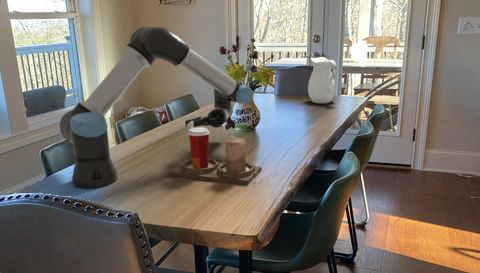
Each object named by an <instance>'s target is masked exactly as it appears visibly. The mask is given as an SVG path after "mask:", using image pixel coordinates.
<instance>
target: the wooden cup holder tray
mask: <svg viewBox="0 0 480 273" xmlns="http://www.w3.org/2000/svg"><path fill="white" fill-rule="evenodd" d="M224 143H225V144H224V145H225V147H224V148H225V162H219V161H217V160H216V159H213V158H208V167H207V168H203V169H195V168H193V164H192V159H187V160H185V161H183V162H181V164H179V165H177V166H176V167H174V168H173V169H172V170H170V171H168V177H173V178H183V179H192V180H201V181H210V182H217V183H219V182H220V183H226V184H237V185H246V186H249V184H251V183H252V181H253V180H254V179H255V178H256V177H257V176H258V175H259V174H260V173H261V172H262V166H258V165H253V163H251V162H248V161H247V159H246V158H247V157H246V156H247V155H246V152H247V151H246V139H244V138H243V137H242V138H241V137H231V138H227V139H225V141H224Z"/></svg>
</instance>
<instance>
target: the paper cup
mask: <svg viewBox="0 0 480 273" xmlns="http://www.w3.org/2000/svg"><path fill="white" fill-rule="evenodd" d="M187 135H188V138H189V145H190V154H191V160H192V164H193V168H195V169H203V168H207V167H208V159H209V145H210V144H209V143H210V141H209V140H210V138H209V135H210V131H209V129H208V128H206V127H200V126H198V127H194V128H192V129H190V130H189V132H187Z"/></svg>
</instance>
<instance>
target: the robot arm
mask: <svg viewBox="0 0 480 273" xmlns="http://www.w3.org/2000/svg"><path fill="white" fill-rule="evenodd" d="M124 50H125V54H123V56H122V57H121V58H120V59H119V61H118V62H117V63H116V64H115V66H114V67H113V68H112V69H111V70H110V71H109V72H108V74H107V75H106V76H105V78H103V80H102V81H101V82H100V83H99V84H98V86H97V87H96V88H95V89H94V91H92V93H91V94H90V95H89V97H88V98H87V99H86V100H85V101H80V102H78V103H77V104H76V105H75V107H73V109H72V110H68V111H67V112H64V113H63V115H62V116H61V118H60V120H59V125H58V126H59V131H60V134H61V135H62V137H63V138H64V140H65V141H67V142H68V143H70V144H72V146H73V154H74V161H75V163H74V165H73V166H74V168H73V171H72V172H73V174H72V177H71V178H72V179H71V180H72V185H73V186H74V187H76V188H80V189H94V188H101V187H104V186H108V185H111V184H113V183H115V182H116V181H117V180H118V172H117V170H116V168H115V165H114V163H113V161H112V159H111V154H110V142H109V134H108V133H109V132H108V123H107V119H106V117H105V116H106V114H107V113H108V112H109V111H110V110H111V108H112V107H113V106H114V105H115V103H117V101H118V100H119V98H120V97H121V96H122V95H123V94H124V93H125V92H126V90H127V89H128V88H129V87H130V85H131V84H132V83H133V82H134V80H135V79H136V78H137V77H138V75H139V74H140V73H141V72H142V71H143V69H146V68H150V67H151V66H152V65H153V63H155V61H156V60H157V59H158V60H163V61H166V62H168V63H170V64H172V65H173V66H175V67H177V66H179V67H181V68H183V69H184V70H186V71H187V72H189V74H192V75H193V76H195V77H196V78H198V79H199V80H200V81H202V82H204V83H206V84H207V85H209V86H210V87H212V88H213V99H214V100H213V101H214V102H213V106H214V108H213V109H212V110H211V111H209V113H208V114H207V116H204V117H203V116H202V115H199V116H197V117H194V118H190V119H187V120H185V128H186V132H187V133H189V130H190V129H192V128H197V127H200V126H204V127H206V126H207V127H208V126H210V127H213V128H220V129H221V134H224V133H226V131H227V130H230V129H236V122H235V120H234V119H232V118H231V117H232V116H233V113H234V108H233V106H232V103H236V104H240V105H246V104H248V103H250V102H251V100H252V97H253V90H252V89H251V87H249V86H247V85H245V84H241V83H240V82H238V81H236V80H235V79H234V78H233V77H231V76H230V75H228V74H227V73H225V72H224V71H223V70H221V69H219V68H218V67H217V66H215V65H214V64H213V63H212V62H210V61H208V60H207V59H205V57H203V56H201V55H200V54H198V53H197V52H195V51H194V50H193V49H191V45H190V44H189V43H188V42H186V41H185V40H184V39H183V38H181V37H180V36H178V35H177V34H175V33H174V32H172V30H170V29H167V28H165V27H162V26H141V27H139V28H137V29H135V30H134V31H133V32H132V34H131V35H130V37H129V42H128V43H127V45H126V46H125V49H124Z"/></svg>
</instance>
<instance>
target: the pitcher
mask: <svg viewBox="0 0 480 273" xmlns="http://www.w3.org/2000/svg"><path fill="white" fill-rule="evenodd" d="M310 60H311V62H312V65H313V69H312V72H311V74H310V77H309V81H308V86H307V91H308V96H309V99H310V100H311V102H312V103H313V104H329V103H331V101H332V99H333V98H334V96H335V93H336V84H335V83H336V82H335V78H334V77H335V76H336V73H337V70H338V69H337V63H336V62H335V60H332V59H330V60H329V59H328V58H326V57H324V56H319V57H310ZM331 66H332V68H331Z"/></svg>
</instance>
